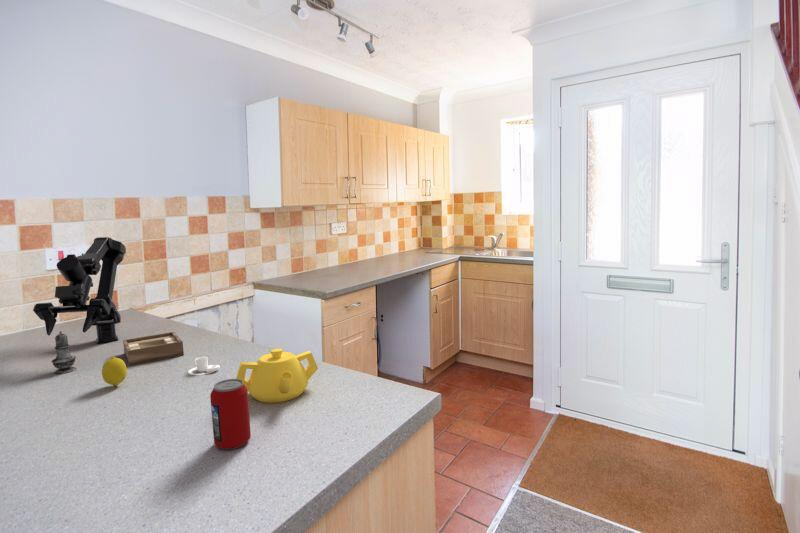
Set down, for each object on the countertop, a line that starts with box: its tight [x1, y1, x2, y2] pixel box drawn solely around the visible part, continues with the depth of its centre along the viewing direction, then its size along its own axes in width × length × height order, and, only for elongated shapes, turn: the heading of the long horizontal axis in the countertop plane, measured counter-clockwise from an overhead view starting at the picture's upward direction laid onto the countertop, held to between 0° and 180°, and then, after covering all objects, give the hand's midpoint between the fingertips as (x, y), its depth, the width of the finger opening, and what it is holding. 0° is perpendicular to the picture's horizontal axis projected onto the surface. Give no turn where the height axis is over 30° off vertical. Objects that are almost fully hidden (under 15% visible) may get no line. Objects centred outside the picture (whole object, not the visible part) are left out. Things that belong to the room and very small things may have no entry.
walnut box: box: [122, 331, 184, 367], centre depth 145 cm, size 15×15×4 cm
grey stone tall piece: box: [50, 330, 77, 375], centre depth 131 cm, size 6×6×12 cm
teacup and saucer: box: [187, 355, 221, 376], centre depth 129 cm, size 9×8×4 cm
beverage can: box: [209, 378, 252, 450], centre depth 87 cm, size 7×7×12 cm
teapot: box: [235, 348, 319, 404], centre depth 109 cm, size 20×18×11 cm
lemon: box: [101, 356, 128, 387], centre depth 118 cm, size 6×6×8 cm
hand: (66, 333), depth 134 cm, fingers open, 9 cm apart
